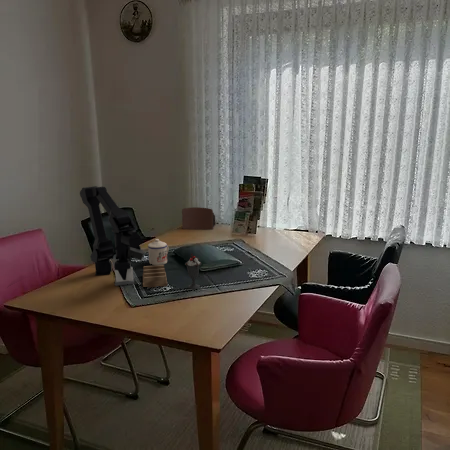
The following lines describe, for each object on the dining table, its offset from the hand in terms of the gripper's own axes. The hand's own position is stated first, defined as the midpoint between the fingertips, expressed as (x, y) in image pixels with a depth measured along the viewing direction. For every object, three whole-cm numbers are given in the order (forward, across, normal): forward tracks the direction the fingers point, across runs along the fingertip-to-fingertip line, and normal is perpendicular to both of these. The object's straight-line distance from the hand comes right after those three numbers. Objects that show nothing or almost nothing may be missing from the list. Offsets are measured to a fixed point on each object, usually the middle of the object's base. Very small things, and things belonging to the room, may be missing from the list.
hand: (124, 278), depth 180 cm
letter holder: (+2, +90, -44) cm, 100 cm away
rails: (+2, 0, 0) cm, 2 cm away
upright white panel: (+2, 0, 0) cm, 2 cm away
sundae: (+2, -11, -28) cm, 30 cm away
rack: (+2, 0, -12) cm, 13 cm away
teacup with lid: (+2, +25, -16) cm, 30 cm away
